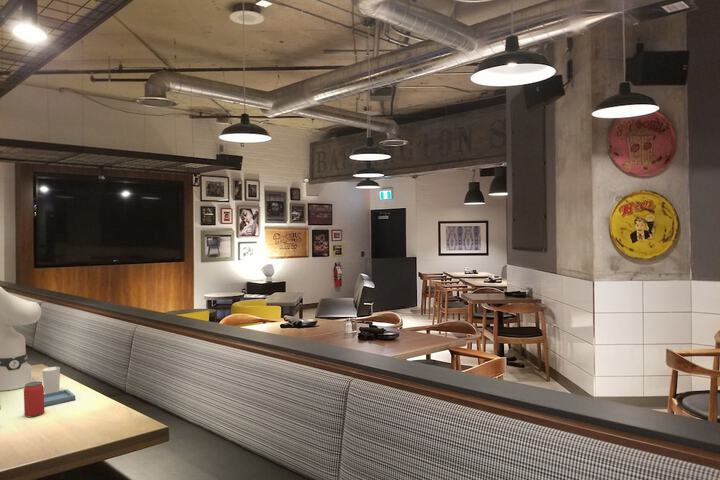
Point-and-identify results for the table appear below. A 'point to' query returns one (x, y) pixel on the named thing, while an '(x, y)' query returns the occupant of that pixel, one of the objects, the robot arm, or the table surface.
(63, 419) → the table surface
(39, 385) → the beer can
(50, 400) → the slate tray
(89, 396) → the table surface
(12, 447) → the table surface
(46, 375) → the white coffee cup
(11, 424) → the table surface
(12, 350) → the robot arm
